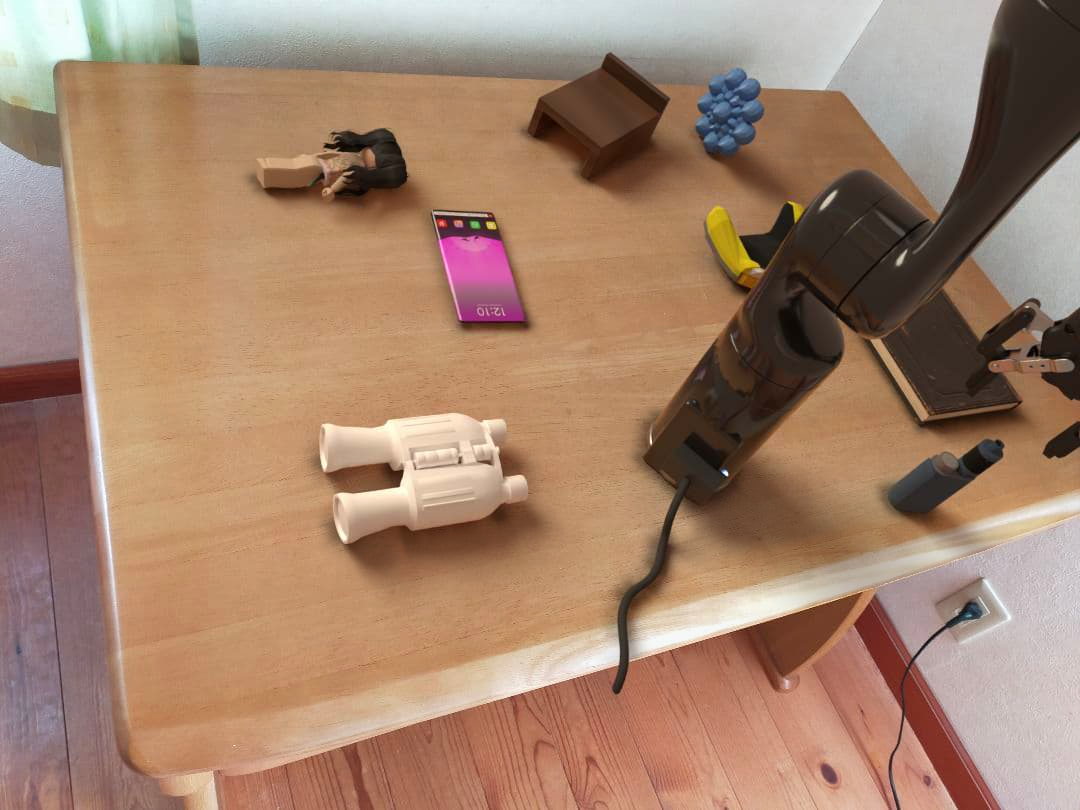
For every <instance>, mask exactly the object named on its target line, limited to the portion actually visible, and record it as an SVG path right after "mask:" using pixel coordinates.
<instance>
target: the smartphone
mask: <svg viewBox="0 0 1080 810" xmlns="http://www.w3.org/2000/svg"><path fill="white" fill-rule="evenodd" d="M430 217H431V221H432V224H433V229H434V232H435V233H434V234H435V236H436V240H437V244H438V247H439V251H440V256H441V259H442V263H443V267H444V270H445V274H446V278H447V282H448V286H449V289H450V293H451V297H452V302H453V305H454V309H455V312H456V316H457V320H458V322H459V323H460V324H525V323H526V322H527V316H526V314H525V311H524V307H523V304H522V301H521V298H520V294H519V291H518V287H517V284H516V281H515V278H514V274H513V271H512V269H511V265H510V262H509V258H508V256H507V253H506V249H505V246H504V243H503V239H502V235H501V233H500V230H499V229H500V228H499V226H498V223H497V220H496V216H495V214H494V213H493V212H492V211H491V212H490V211H474V210H473V211H470V210H455V209H454V210H453V209H432V210H431V211H430Z"/></svg>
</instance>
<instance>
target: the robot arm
mask: <svg viewBox="0 0 1080 810" xmlns="http://www.w3.org/2000/svg"><path fill="white" fill-rule="evenodd" d="M970 138H971V139H970V141H969V144H968V145H969V146H968V148H967V149H968V150H967V152H966V156H965V160H964V163H963V165H962V169H961V171H960V174H959V177H958V180H957V181H956V184H955V186H954V188H953V191H952V193H951V194H950V196H949V198H948V200H947V202H946V204H945V205H944V208H943V209H942V211H941V212H940V214H939V216H938V217H937V219H936V221H934V220H933V219H931V217H929V216H928V215H927V214H926V213H924V212H923V211H922V210H921V209H920V208H919V207H917V206H916V205H915V204H914V203H913V202H912V201H910V200H909V199H908V198H907V197H906V196H904V195H903V194H902V193H901V192H900V191H898V190H897V189H896V188H895V187H894V186H893V185H892V184H890V183H889V182H888V181H887V180H885V179H884V178H883V177H881V176H880V175H879V174H878V173H876V172H874V171H873V170H871V169H869V168H867V167H866V168H865V167H858V168H854V169H850V170H848V171H845V172H844V173H842V174H840V175H839V176H837V177H836V178H834V179H832V180H831V181H830V182H829V183H828V184H827V185H826V186H824V188H823V189H821V191H820V192H819V193H817V195H816V196H815V197H814V198H813V199H812V200H811V201H810V203H809V204H808V205H807V206H806V208H805V209H804V211H803V213H802V214H801V216H800V217H799V218H798V220H797V221H796V223H795V224H794V226H793V227H792V229H791V230H790V232H789V233H788V235H787V236H786V238H785V240H784V241H783V243H782V244H781V246H780V247H779V249H778V251H777V252H776V254H775V255H774V257H773V258H772V260H771V262H770V263H769V265H768V266H767V268H766V269H765V271H764V272H763V274H762V275H761V277H760V278H759V279H758V281H757V282H756V283H755V285H754V286H753V288H752V289H751V288H750V290H749V292H748V293H747V295H746V296H745V298H744V300H743V301H742V303H741V304H740V306H739V307H738V308H737V310H736V311H735V313H734V314H733V316H732V317H731V318H730V320H729V321H728V323H727V324H726V325H725V327H724V328H723V329H722V330H721V332H720V333H719V334H718V336H716V338H715V340H714V341H713V342H712V343H711V345H710V346H709V347H708V349H707V350H706V352H705V353H704V354H703V356H702V357H701V358H700V360H699V361H698V362H697V364H696V365H695V366H694V368H693V369H692V370H691V372H690V373H689V374H688V376H687V377H686V378H685V380H684V381H683V382H682V384H681V385H680V386H679V388H678V389H677V391H675V393H674V394H673V395H672V397H671V398H670V400H669V401H668V403H667V404H666V406H665V407H664V408H663V409H662V411H661V412H660V413H659V414H658V415H657V416H656V417H655V419H654V420H653V421H652V423H651V424H650V425H649V427H648V429H647V432H646V440H645V442H646V443H645V444H646V445H645V446H646V450H645V452H644V454H643V455H642V459H643V460H644V461H645V462H646V463H647V464H648V465H650V466H651V468H653V469H654V470H655V471H657V472H658V474H660V475H661V476H662V477H663V478H664V479H665V480H666V481H667V482H668V483H670V484H671V485H673V487H675V489H677V490H676V492H675V494H674V496H673V498H672V501H671V502H670V504H669V507H668V509H667V512H666V515H665V518H664V521H663V523H662V524H663V525H662V528H661V532H660V537H659V541H658V544H657V549H656V554H655V558H654V562H653V564H652V567H651V569H650V571H649V572H648V574H647V575H646V576H645V577H644V578H642V579H641V580H640V581H638V582H637V583H635V584H633V585H631V586H630V587H629V589H627V590H626V592H625V593H624V595H623V596H622V598H621V600H620V603H619V606H618V611H617V635H618V644H619V661H618V669H617V672H616V675H615V679H614V681H613V683H612V686H611V692H612V693H613V694H615V695H619V694H620V693H621V691H622V689H623V687H624V684H625V682H626V679H627V676H628V671H629V663H630V645H629V644H630V643H629V636H628V635H629V633H628V624H627V623H628V613H629V608H630V605H631V603H632V601H633V599H634V598H635V597H636V596H637V595H638V594H639V593H641V592H643V591H644V590H645V589H647V588H648V587H650V586H651V585H653V583H654V582H655V581H656V580H657V579H658V577H659V575H660V573H661V571H662V569H663V566H664V562H665V557H666V552H667V548H668V544H669V540H670V535H671V532H672V529H673V528H672V527H673V524H674V522H675V518H676V516H677V514H678V510H679V508H680V506H681V504H682V502H683V499H684V498H685V497H686V498H688V500H690V501H691V500H696V501H697V502H698V503H699V504H700V505H702V506H703V505H704V504H705V503H706V502H707V501H708V500H709V499H711V497H712V496H713V495H714V494H716V493H718V492H720V491H722V490H724V488H726V487H727V486H728V485H729V484H730V482H732V480H733V479H734V478H735V476H736V475H737V473H739V471H741V469H742V468H743V467H744V466H746V464H747V463H748V462H749V461H750V460H751V459H752V458H753V457H754V456H755V455H756V453H758V451H759V450H760V449H761V448H762V447H763V446H764V445H766V443H767V442H769V440H770V439H771V438H772V437H773V436H774V434H776V433H777V432H778V430H780V428H781V427H782V426H783V425H784V424H785V423H786V422H787V421H788V420H789V419H790V418H791V417H792V415H793V414H795V412H797V410H798V409H800V407H801V406H802V405H803V404H804V403H805V402H806V401H807V400H808V399H809V398H810V397H811V396H812V395H813V394H814V393H815V392H816V391H817V390H818V389H819V387H821V386H822V384H824V382H825V381H827V379H828V378H829V377H830V376H831V375H832V374H833V373H834V372H835V371H836V369H837V368H838V367H839V365H841V361H842V360H843V357H844V354H845V348H846V347H845V345H846V343H845V337H844V332H843V329H842V327H841V326H842V325H841V324H840V322H839V320H840V321H841V322H842V323H843V324H844V325H845V326H847V327H848V328H849V329H850V330H852V331H853V332H854V333H855V334H857V335H859V336H860V337H861V338H863V339H864V338H866V339H870V340H874V339H880V338H883V337H886V336H888V335H890V334H892V333H893V332H895V331H897V330H898V329H899V328H901V327H902V326H904V325H905V324H906V323H907V322H908V321H910V320H911V319H912V318H913V317H914V316H915V315H916V314H917V313H918V312H919V311H920V310H921V309H923V308H924V307H925V306H926V305H927V304H928V302H929V301H930V300H931V299H932V298H933V297H934V296H935V295H936V294H937V293H938V292H939V291H940V290H941V289H942V288H944V286H946V284H948V282H949V281H950V280H951V279H952V278H953V277H954V276H955V275H956V274H957V272H958V271H959V270H960V269H961V268H962V267H963V265H964V264H965V263H966V262H967V261H968V260H969V259H970V258H971V257H972V256H973V254H974V253H975V252H976V251H977V249H979V247H980V246H981V245H982V244H983V243H984V242H986V240H987V239H988V238H989V236H990V235H991V234H992V233H993V232H994V231H995V230H996V228H997V227H999V225H1000V224H1001V223H1002V222H1003V221H1004V220H1005V219H1006V217H1007V216H1008V215H1009V213H1011V212H1012V210H1013V209H1015V208H1016V206H1017V205H1018V204H1019V203H1020V201H1021V200H1023V198H1024V197H1025V196H1026V195H1027V194H1028V193H1029V192H1030V191H1031V190H1032V189H1033V187H1034V186H1036V184H1037V183H1038V182H1039V181H1040V180H1041V179H1042V178H1043V177H1044V176H1045V175H1046V174H1047V173H1048V172H1049V171H1050V170H1051V169H1052V168H1053V167H1054V166H1055V165H1056V164H1057V163H1058V162H1059V161H1060V160H1062V158H1063V157H1064V156H1065V155H1066V154H1067V153H1068V152H1069V151H1070V150H1071V149H1072V148H1073V147H1075V145H1076V144H1077V143H1078V142H1080V0H1001V2H1000V4H999V7H998V8H997V11H996V14H995V17H994V20H993V23H992V26H991V30H990V34H989V38H988V41H987V46H986V51H985V56H984V60H983V66H982V73H981V79H980V85H979V90H978V97H977V105H976V112H975V119H974V123H973V128H972V133H971V137H970ZM1041 306H1042V303H1041V300H1040V299H1038V298H1036V297H1035V298H1034V297H1030V298H1027V300H1025V301H1024V302H1023V303H1021V304H1020V305H1019V306H1018V307H1016V308H1015V309H1013V310H1012V311H1011V312H1010V313H1009V314H1007V315H1006V316H1004V318H1002V319H1001V320H1000V321H998V322H997V323H996V324H994V325H993V326H992V327H991V328H990V329H988V330H986V332H985V333H984V334H983V335H982V338H981V339H980V343H979V344H978V346H977V348H976V350H977V352H978V353H979V354H981V355H983V356H984V357H985V359H986V361H985V362H984V363H983V364H981V365H980V366H979V367H978V368H977V369H976V370H974V371H973V372H972V373H971V374H970V376H969V378H968V379H967V381H966V383H965V386H966V387H967V390H966V392H965V394H966V395H968V396H969V397H970V398H972V397H974V396H975V395H976V394H977V393H978V392H980V391H981V390H982V389H983V388H984V387H986V386H987V385H988V384H989V383H990V382H992V381H993V380H994V379H995V378H997V377H998V375H999V373H1000V372H1003V373H1011V372H1016V373H1017V372H1018V374H1022V375H1023V374H1037V373H1038V374H1039V373H1040V374H1041V376H1040V378H1041V379H1042V380H1043V381H1045V382H1046V383H1047V384H1049V385H1051V386H1052V387H1056V388H1057V389H1058V390H1059V391H1060V392H1061V394H1062V395H1063V396H1064V397H1065V398H1067V399H1068V400H1070V402H1071V401H1073V400H1075V401H1078V402H1080V306H1079V307H1078V308H1077V309H1075V310H1074V311H1073V312H1072V313H1070V314H1069V315H1068V316H1066V317H1064V318H1062V319H1057V320H1054V319H1052V318H1051V317H1050V316H1049V315H1047V314H1046V313H1045V312H1044V311H1043V310H1041ZM838 319H839V320H838ZM1034 331H1039V332H1041V333H1042V336H1041V341H1030V342H1026V343H1024V344H1022V345H1016V346H1005V347H1004V346H1003V344H1005V343H1006V342H1008V341H1009V340H1010V339H1011V338H1013V337H1014V336H1016V335H1017V334H1018V333H1019V332H1020V333H1022V334H1028V333H1032V332H1034ZM1079 448H1080V420H1077V421H1075V422H1074V423H1072V424H1071V425H1070V426H1068V427H1067V428H1066V429H1064V430H1063V431H1062V432H1060V433H1058V434H1057V435H1055V436H1054V437H1053V438H1051V439H1050V440H1048V441H1047V443H1046V444H1045V447H1044V449H1043V451H1042V453H1041V454H1042V455H1043V456H1044V457H1046V458H1047V459H1048V460H1051V459H1052V458H1054V457H1056V458H1057V459H1062V458H1063V459H1064V458H1065V457H1067V456H1069V455H1070V454H1071V453H1073V452H1074V451H1076V450H1077V449H1079Z"/></svg>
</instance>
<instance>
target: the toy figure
mask: <svg viewBox="0 0 1080 810" xmlns="http://www.w3.org/2000/svg"><path fill="white" fill-rule="evenodd" d="M391 130H392V128H390V127H380V128H375V129H372V130H369V131H366V132H365V133H362V134H361V132H359V131H357V130H354V129H353V131H352V128H351V129H347V130H341V131H340V130H338V129H334V131H332V132H331V133H330V134H329V136H328V138H330V137H331V139H328V140H327V142H324V143H323V148H322V149H328V151H327V150H324V151H321V152H319V153H315V154H306V153H302V154H299V155H297V156H296V157H294V158H293V157H292V158H287V157H286V158H285V157H266V158H264V157H258V158H255V166H256V169H255V170H256V179H257V181H258V182H259V184H260V185H261V187H262V188H263V189H266V188H279V189H280V188H281V189H282V188H284V189H295V188H298V189H300V188H304V187H311V186H313V185H315V184H318V183H320V182H321V183H322V184H323V187H325V188H323V189H322V192H321V195H322V198H323V200H324V202H330V201H333V200H334V198H336V197H335V194H336V195H338V196H340V197H342V200H343V199H344V200H346V197H347V196H348V197H347V199H348V198H350V196H353V197H352V198H355V197H361V199H362V198H364V197H365V196H367V195H369V193H370V192H373V191H374V190H377V191H378V192H380V191H381V192H382V190H388V191H389V190H393V191H396V189H399V188H401V187H403V186H404V185H406V184H407V181H408V178H409V177H410V173H408V171H407V163H406V160H405V158H404V157H403V151H402V148H401V146H400V145H399V143H398V142H397V138H396V135H395V133H394V132H392V131H391ZM336 131H337V132H336ZM338 131H339V132H338ZM331 135H332V136H331ZM334 136H335V137H334ZM329 140H330V141H329ZM329 142H330V143H329ZM331 142H332V143H331ZM331 184H332V185H331ZM329 185H330V187H327V186H329ZM346 186H355V187H358V188H349V187H346ZM394 189H395V190H394ZM343 197H345V198H343Z"/></svg>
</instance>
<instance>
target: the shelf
mask: <svg viewBox="0 0 1080 810" xmlns="http://www.w3.org/2000/svg"><path fill="white" fill-rule="evenodd" d="M670 101H671V97H669V95H667V94H666V93H664V91H662V90H660V89H659V88H658V87H657V86H656V85H654V84H653V83H651V82H650V81H649V80H648V79H646V78H645V77H643V75H641V74H640V73H638V72H637V71H636V70H635V69H634V68H632V67H630V66H629V65H628V64H627V63H625V62H624V60H622V59H620V58H619V57H618V56H617V55H615V54H614V53H612V52H611V51H610V52H608V53H606V54H605V56H604V58H603V61H602V63H601V66H600V67H599V68H597V69H595V70H592V71H590V72H588V73H587V74H584V75H582V76H580V77H578V78H576V79H574V80H572V81H570V82H568V83H566V84H564V85H562V86H560V87H557V88H555V89H554V90H552V91H549V92H548V93H546V94H544V95H540V96H539V97H538V99H537V102H536V105H535V108H534V111H533V113H532V116H531V118H530V121H529V124H528V127H527V129H526V132H527V133H528V134H530V135H531V136H532V137H536V136H538V135H540V134H542V133H543V132H546V131H548V130H549V129H552V128H553V127H555V126H557V125H559V126H561V127H562V128H563V129H565V130H566V131H567V132H568V133H569V134H571V135H572V136H573V137H574V138H576V139H577V140H578V141H580V142H581V143H582V144H583V145H585V146H586V147H587V148H588V149H589V150H590V152H589V153H588V156H587V158H586V159H585V163H584V165H583V167H582V169H581V171H580V176H581V177H582V178H584V179H585V180H586V181H588V180H590V179H592V178H593V177H595V176H596V175H599V174H600V173H602V172H603V171H605V170H606V169H608V168H609V167H611V166H613V165H615V164H616V163H617V162H619V161H621V160H622V159H624V158H626V157H627V156H629V155H630V154H632V153H633V152H636V151H637V150H638V149H640V148H643V146H645V145H648V144H649V142H650V139H651V137H652V136H653V134H654V132H655V130H656V128H657V126H658V124H659V122H660V120H661V118H662V116H663V115H664V113H665V110H666V108H667V106H668V104H669V102H670Z"/></svg>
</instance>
